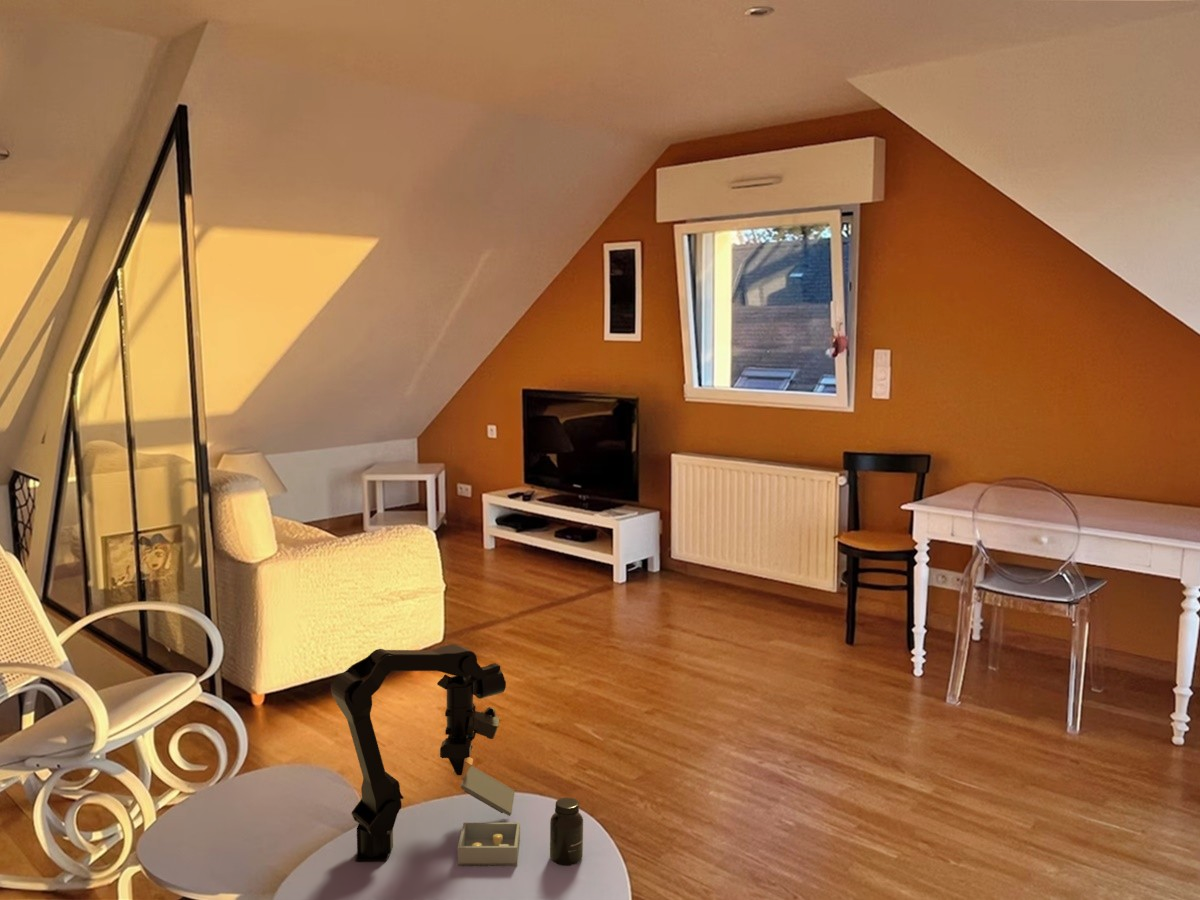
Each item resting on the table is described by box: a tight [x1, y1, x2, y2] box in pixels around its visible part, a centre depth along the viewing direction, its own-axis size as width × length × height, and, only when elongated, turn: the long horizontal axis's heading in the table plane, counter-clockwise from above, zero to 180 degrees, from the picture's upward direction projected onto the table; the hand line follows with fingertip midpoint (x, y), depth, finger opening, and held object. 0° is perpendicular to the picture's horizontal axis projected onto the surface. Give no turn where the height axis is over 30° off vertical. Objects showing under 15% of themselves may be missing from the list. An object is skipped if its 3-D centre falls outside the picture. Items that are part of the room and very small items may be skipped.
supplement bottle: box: [549, 797, 584, 867], centre depth 195 cm, size 7×7×12 cm
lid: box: [451, 756, 516, 817], centre depth 209 cm, size 15×10×5 cm
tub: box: [457, 822, 521, 867], centre depth 197 cm, size 12×10×4 cm
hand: (460, 771), depth 208 cm, fingers closed on lid, 3 cm apart
